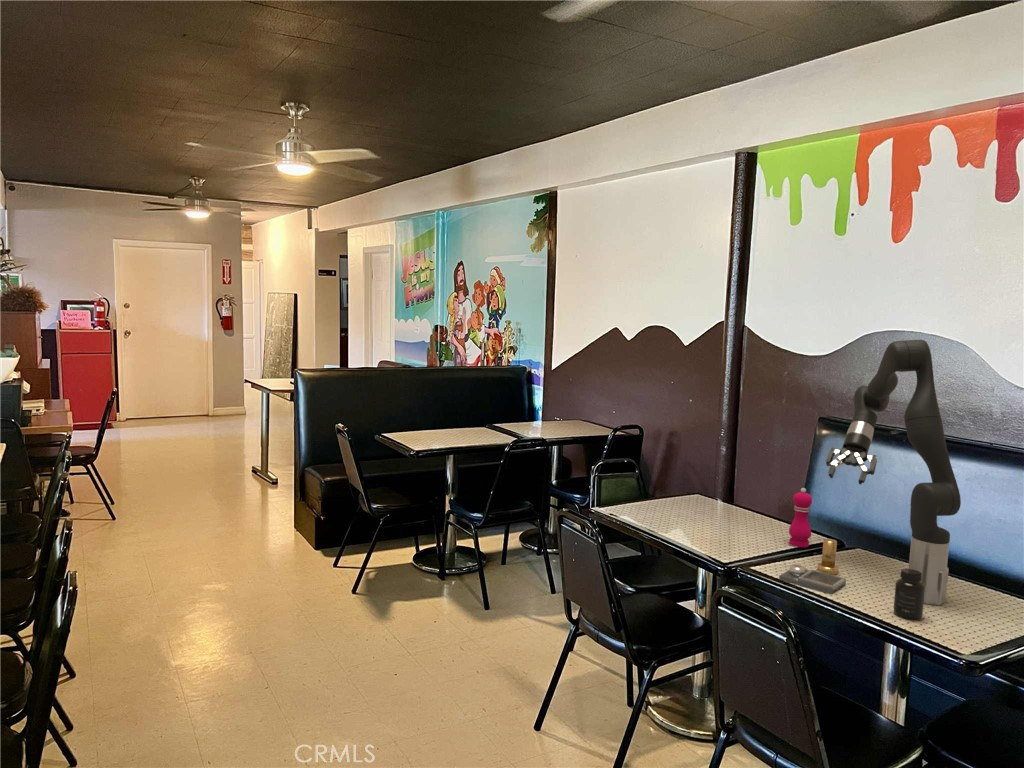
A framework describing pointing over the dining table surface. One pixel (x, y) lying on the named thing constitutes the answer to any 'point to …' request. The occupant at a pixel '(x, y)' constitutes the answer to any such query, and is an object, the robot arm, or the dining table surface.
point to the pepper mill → (801, 520)
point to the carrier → (813, 579)
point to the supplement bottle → (909, 595)
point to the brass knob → (828, 558)
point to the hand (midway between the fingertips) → (845, 479)
